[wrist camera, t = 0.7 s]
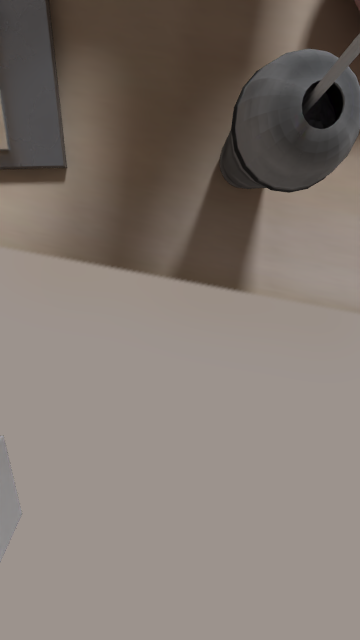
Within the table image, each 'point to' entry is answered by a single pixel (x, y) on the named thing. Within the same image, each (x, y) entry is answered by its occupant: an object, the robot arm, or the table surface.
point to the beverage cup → (294, 121)
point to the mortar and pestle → (358, 4)
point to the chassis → (29, 88)
